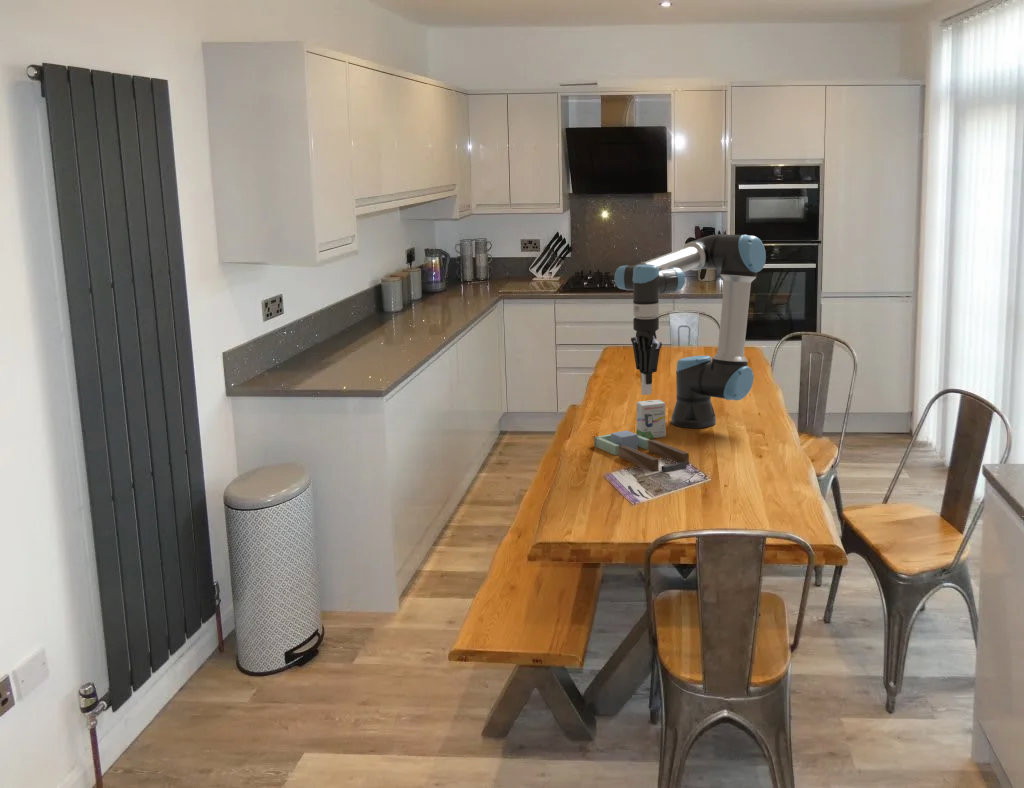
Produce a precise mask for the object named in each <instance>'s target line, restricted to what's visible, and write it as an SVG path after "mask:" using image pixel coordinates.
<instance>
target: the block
mask: <svg viewBox="0 0 1024 788" xmlns="http://www.w3.org/2000/svg"><path fill="white" fill-rule="evenodd" d="M610 434H611V442H613V443H615V444H617V445H620V446H622V445H625V446H628V447H630V448H633V449H635V450H638V449H639V446H638V435H637V433H634V432H632V431H631V430H630V431H629V430H622V431H616V432H611V433H610Z"/></svg>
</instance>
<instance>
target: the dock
mask: <svg viewBox="0 0 1024 788" xmlns="http://www.w3.org/2000/svg"><path fill="white" fill-rule="evenodd" d="M649 440H651V438H650V439H647V438H645V437H642V436H639V435H638V448H641V449H644V450H648V441H649ZM593 441H594V442H593V443H594V444H593V446H594V447H596V449H597V448H598V449H600V450H603V451H605V452H607V453H610V454H612V455H614V456H619V446H620V445H617V444H615V443H613V442H611V433H610V434H604V435H599V436H594V437H593Z"/></svg>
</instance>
